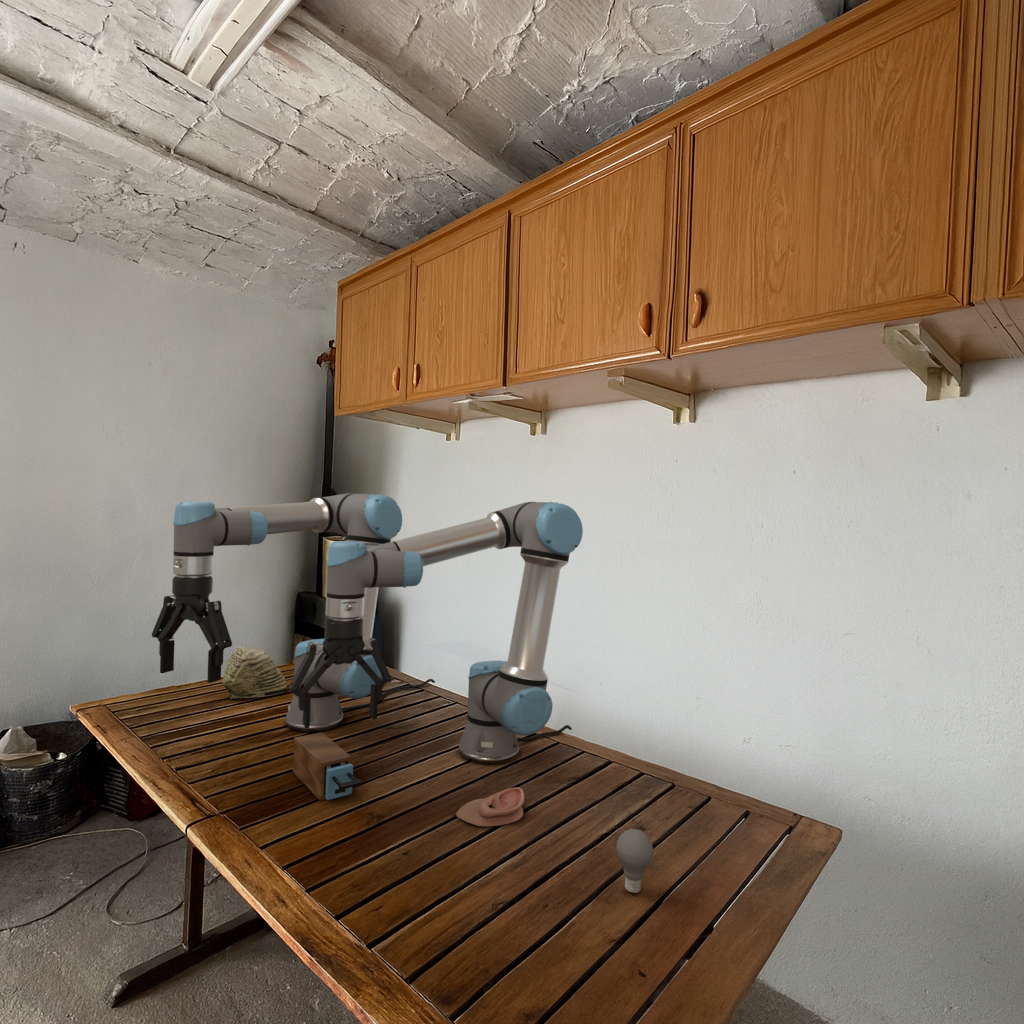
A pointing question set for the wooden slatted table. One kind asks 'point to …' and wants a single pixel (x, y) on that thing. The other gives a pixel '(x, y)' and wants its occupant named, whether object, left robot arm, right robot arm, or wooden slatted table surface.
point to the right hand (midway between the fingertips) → (340, 721)
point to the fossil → (252, 674)
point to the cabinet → (316, 760)
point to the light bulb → (634, 857)
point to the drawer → (339, 780)
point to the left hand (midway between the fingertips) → (190, 676)
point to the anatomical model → (494, 808)
